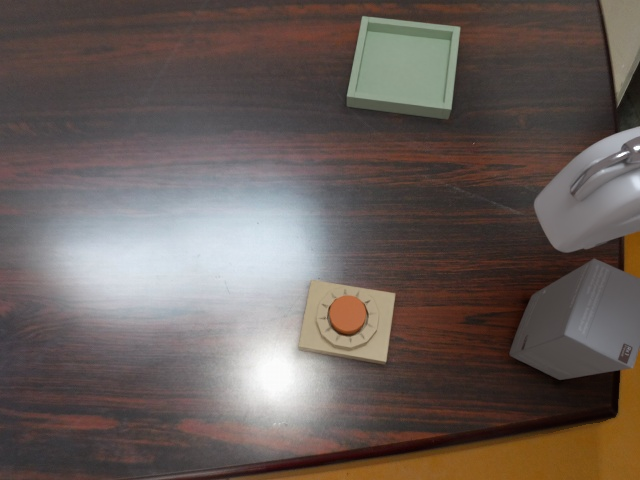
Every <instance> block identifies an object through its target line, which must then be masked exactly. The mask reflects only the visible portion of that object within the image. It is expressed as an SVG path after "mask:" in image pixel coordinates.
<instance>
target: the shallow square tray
mask: <svg viewBox="0 0 640 480" xmlns="http://www.w3.org/2000/svg"><path fill="white" fill-rule="evenodd" d="M460 35H461V26H457V25H447V24H440V23H439V24H437V23H429V22H420V21H412V20H402V19H392V18H383V17H374V16H366V15H362V16H361V21H360V26H359V31H358V36H357V40H356V41H357V43H356V47H355V51H354V57H353V61H352V67H351V71H350V76H349V83H348V88H347V94H346V108H353V109H354V108H355V109H362V110H369V111H375V112H376V111H377V112H386V113H391V114H392V113H393V114H400V115H401V114H402V115H409V116H417V117H424V118H431V119H438V120H449V118H450V115H451V112H452V108H453V98H454V90H455V81H456V71H457V65H458V64H457V62H458V53H459V45H460V43H459V42H460Z"/></svg>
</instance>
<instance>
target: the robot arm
mask: <svg viewBox="0 0 640 480" xmlns="http://www.w3.org/2000/svg"><path fill="white" fill-rule="evenodd" d="M533 209H534V213H535V215H536V218H537V220H538V222H539V224H540V226H541V229H542V231H543V232H544V235H545V237H546V238H547V240H548V242H549V243H550V245H551V246H552V247H553V248H554V249H555V250H556V251H559V252H561V253H566V254H567V253H573V252H576V251H580V250H582V249H584V250H589V249H592V248H595V247H599V246H601V245H604V244H605V245H606V244H608V242H609V241H611V240H615V239H618V238H622V237H626V236H629V235H632V234H635V233H638V232H640V126H636V127H632V128H629V129H625V130H622V131H619V132H617V133H614V134H611V135H609V136H607V137H604V138H602V139H601V140H598V141H597V142H595V143H593V144H591V145H589V146H588V147H586V148H585V149H584V150H582V151H581V152H580V153H579V154H578V155H576V156H575V157H573V159H572V160H570V161H569V162H568V163H567V164H566V165H565V166H564V167H563V168H562V169H561V170H560V171H559V172H558V173H556V175H555V176H554V177H553V178H552V179H550V181H549V182H548V183H547V184H546V186H544V187H543V188H542V190H541V191H540V192H539V193H538V194H537V195H536V197H535V199H534V200H533Z"/></svg>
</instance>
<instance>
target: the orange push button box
mask: <svg viewBox="0 0 640 480" xmlns="http://www.w3.org/2000/svg"><path fill="white" fill-rule="evenodd" d="M346 295H350V296H354V297H356V298H358V299H359V300H361V301H362V303H363V304H364V306H365V309H366V319H365V323H364V325H363V327H362V328H361V329H360V330H359V331H358V332H356V333H353V334H343V333H340V332H338V331H337V330H336V329H335V328H334V327H333V326H332V324H331V321H330V307H331V305H332V303H333V302H334V301H335V300H336V299H337V298H339V297H341V296H346ZM395 301H396V292H390V291H384V290H378V289H372V288H365V287H359V286H353V285H347V284H340V283H335V282H334V283H333V282H328V281H322V280H317V279H311V280H310V282H309V289H308V294H307V299H306V304H305V308H304V309H305V310H304V315H303V320H302V323H301V324H302V325H301V331H300V335H299V341H298V345H297V346H298V349H299V350H300V351H305V352H309V353H310V352H311V353H315V354H321V355H322V354H323V355H327V356H333V357H339V358H344V359H349V360H355V361H361V362H367V363H372V364H379V365H385V366H386V363H387V360H388V354H389V353H388V352H389V346H390V339H391V338H390V337H391V329H392V325H393V324H392V323H393V317H394V310H395V309H394V308H395Z"/></svg>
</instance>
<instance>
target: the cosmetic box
mask: <svg viewBox="0 0 640 480" xmlns="http://www.w3.org/2000/svg"><path fill="white" fill-rule="evenodd" d="M639 352H640V277H637V276H636V275H633V274H631V273H630V272H629V273H628V272H626V271H623V270H622V269H619V268H617V267H615V266H613V265H610V264H608V263H606V262H603V261H601V260H598V259H596V258H593V259H591V260H590V261H587V262H586V263H583V264H582V265H581V266H579V267H578V268H575V269H574V270H572V271H570V272H569V273H567V274H565V275H564V276H561V277H560V278H558V279H557V280H555V281H554V282H552V283H550V284H548V285H547V286H545V287H543V288H541V289H539V290H538V291H536V292H534V293H533V294H531V296H530V298H529V300H528V303H527V305H526V307H525V310H524V312H523V314H522V316H521V319H520V322H519V324H518V327H517V329H516V332H515V334H514V338H513V341H512V343H511V346H510V350H509V352H508V354H509V357H511V358H513V359H515V360H517V361H519V362H521V363H524V364H526V365H528V366H530V367H532V368H534V369H536V370H539V371H540V372H543V373H544V374H546V375H549V376H551V377H552V378H554V379H557V380H559V381H561V380H562V381H563V380H569V379H575V378H581V377H586V376H593V375H599V374H604V373H610V372H616V371H623V370H624V371H625V370H630V369H631V370H632V369H634V367H635V364H636V361H637V359H638V354H639Z"/></svg>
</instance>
